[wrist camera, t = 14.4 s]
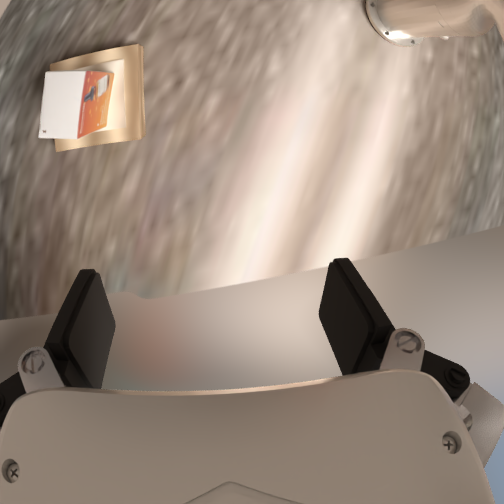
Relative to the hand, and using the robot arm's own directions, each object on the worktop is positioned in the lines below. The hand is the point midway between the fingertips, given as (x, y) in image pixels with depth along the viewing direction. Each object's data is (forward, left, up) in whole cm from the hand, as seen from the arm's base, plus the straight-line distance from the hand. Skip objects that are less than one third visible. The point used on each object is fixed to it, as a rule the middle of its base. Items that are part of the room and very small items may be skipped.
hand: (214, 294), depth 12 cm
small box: (+16, -8, -32) cm, 37 cm away
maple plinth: (+17, -8, -36) cm, 41 cm away
